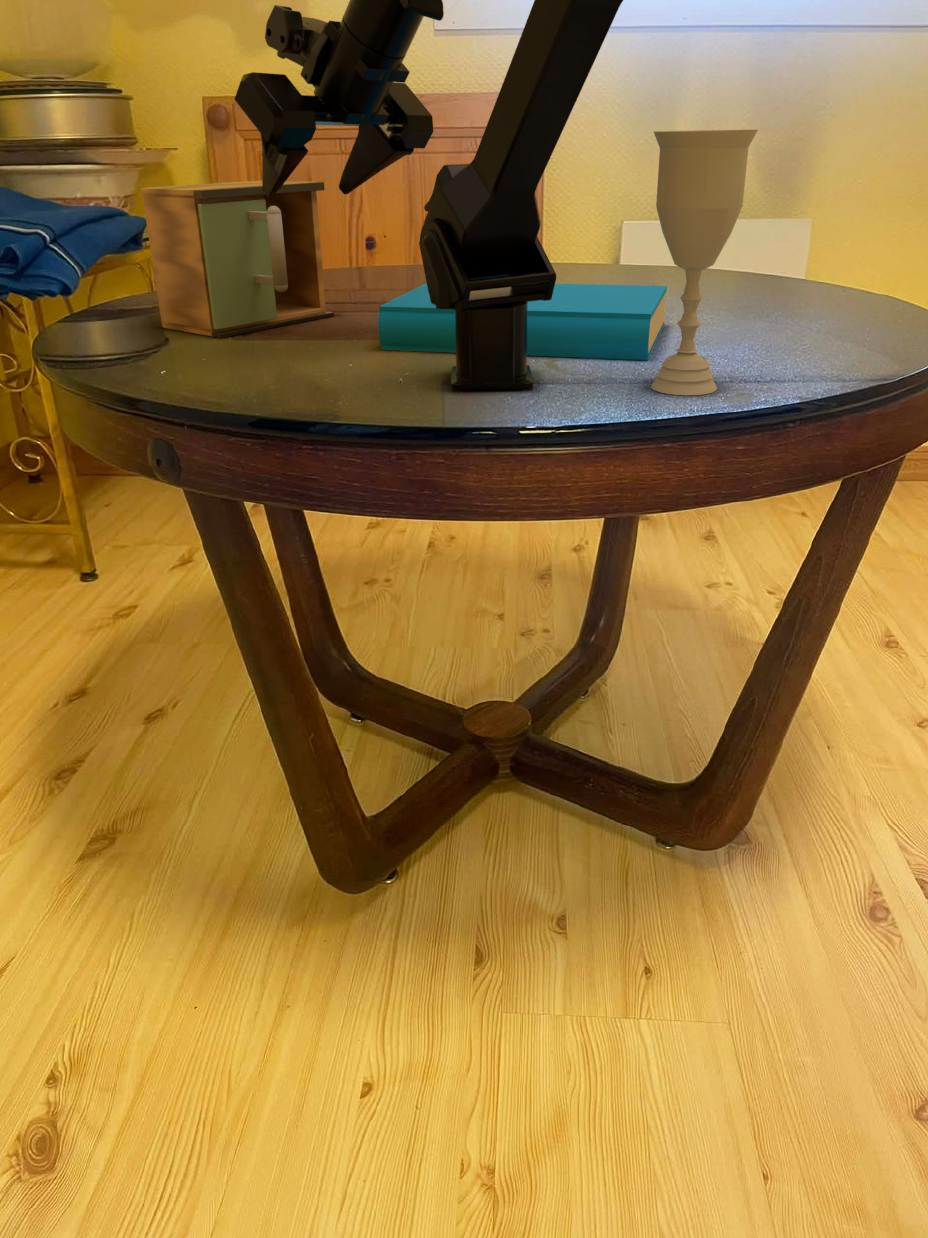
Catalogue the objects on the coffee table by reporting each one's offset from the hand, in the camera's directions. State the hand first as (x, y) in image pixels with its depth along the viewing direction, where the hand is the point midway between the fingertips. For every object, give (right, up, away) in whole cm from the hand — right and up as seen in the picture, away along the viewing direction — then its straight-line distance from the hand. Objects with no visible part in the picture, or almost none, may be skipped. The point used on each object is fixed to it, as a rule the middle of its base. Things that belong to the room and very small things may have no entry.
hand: (305, 192), depth 91 cm
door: (-6, -10, +8) cm, 14 cm away
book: (+21, -13, +4) cm, 25 cm away
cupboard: (-9, -7, +15) cm, 19 cm away
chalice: (+32, -22, -15) cm, 41 cm away
